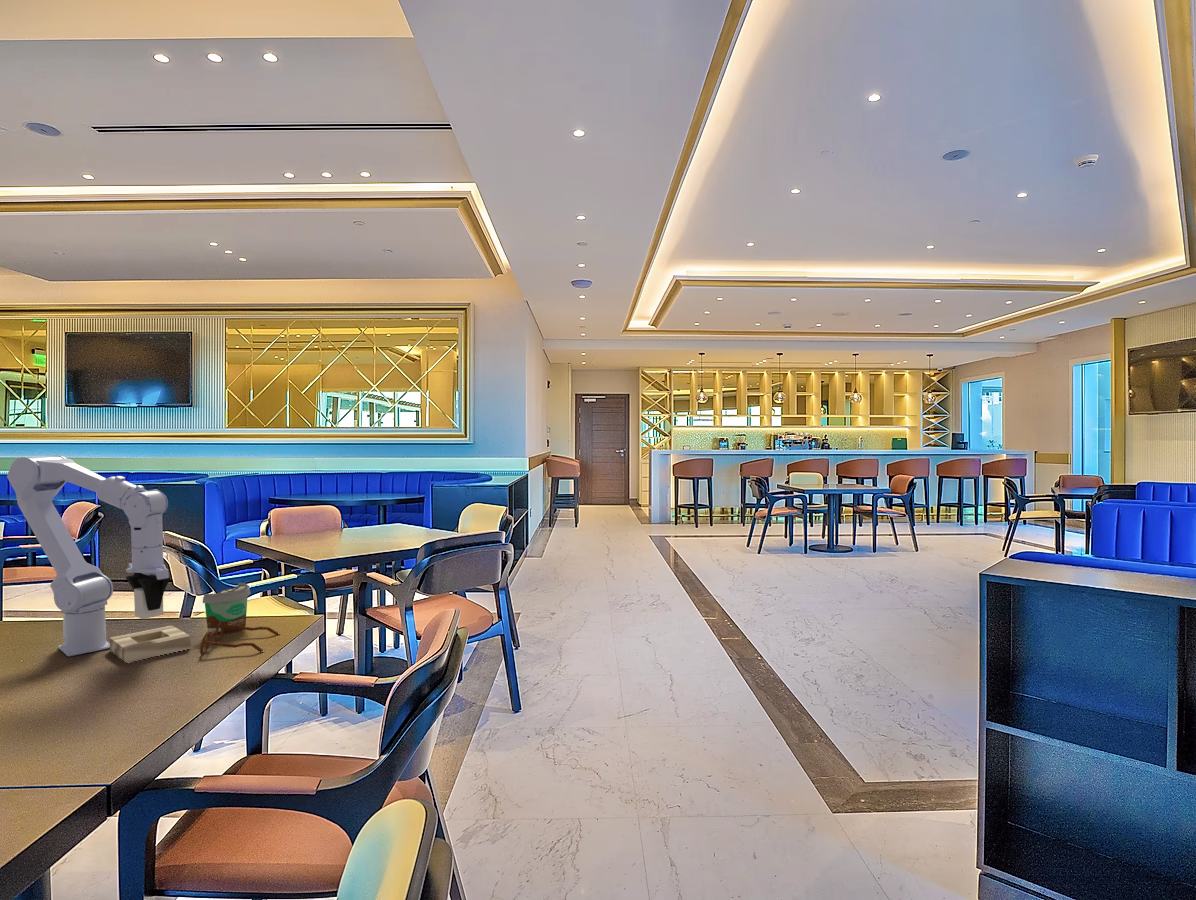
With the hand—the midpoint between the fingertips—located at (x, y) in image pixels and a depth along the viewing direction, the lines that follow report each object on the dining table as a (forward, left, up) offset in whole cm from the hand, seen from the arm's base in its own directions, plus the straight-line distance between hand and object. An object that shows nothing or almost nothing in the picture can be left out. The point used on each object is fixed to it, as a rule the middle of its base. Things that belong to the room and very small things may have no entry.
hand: (149, 607), depth 148 cm
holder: (0, 0, -9) cm, 9 cm away
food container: (-2, +18, -10) cm, 20 cm away
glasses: (+12, +15, -10) cm, 21 cm away
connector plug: (0, 0, -2) cm, 2 cm away
